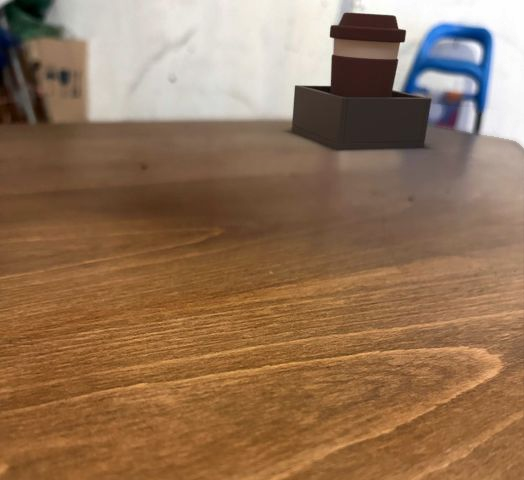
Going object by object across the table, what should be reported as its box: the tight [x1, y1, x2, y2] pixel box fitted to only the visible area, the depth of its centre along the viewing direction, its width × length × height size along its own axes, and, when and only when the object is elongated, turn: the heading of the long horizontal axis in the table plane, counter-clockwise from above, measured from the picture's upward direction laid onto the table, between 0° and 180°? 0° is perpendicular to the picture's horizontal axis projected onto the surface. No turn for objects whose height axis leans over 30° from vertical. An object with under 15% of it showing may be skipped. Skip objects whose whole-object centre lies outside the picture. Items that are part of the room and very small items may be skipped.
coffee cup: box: [329, 12, 407, 98], centre depth 90 cm, size 10×10×15 cm
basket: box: [291, 84, 432, 151], centre depth 93 cm, size 14×14×6 cm
